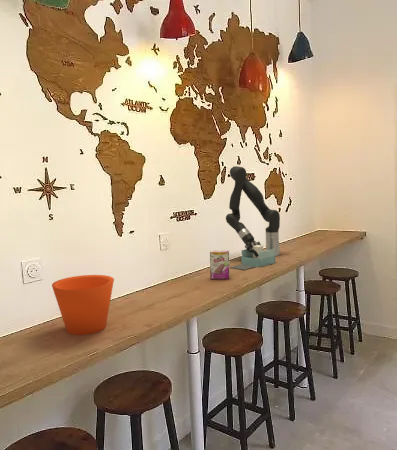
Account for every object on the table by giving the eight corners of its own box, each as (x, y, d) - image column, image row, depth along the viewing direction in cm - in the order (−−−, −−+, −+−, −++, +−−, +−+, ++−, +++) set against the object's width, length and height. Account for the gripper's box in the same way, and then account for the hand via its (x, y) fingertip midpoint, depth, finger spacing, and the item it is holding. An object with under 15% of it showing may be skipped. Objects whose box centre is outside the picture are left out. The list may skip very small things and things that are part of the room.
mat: (241, 265, 306) (241, 264, 306) (255, 267, 297) (255, 266, 297) (230, 268, 298) (230, 267, 298) (244, 270, 290) (244, 269, 290)
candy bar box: (210, 279, 270) (209, 251, 268) (211, 277, 275) (210, 250, 273) (229, 279, 269) (228, 251, 267) (229, 277, 273) (229, 250, 272)
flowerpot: (68, 343, 176) (64, 293, 174) (47, 327, 196) (43, 281, 194) (127, 328, 190) (124, 281, 188) (101, 314, 211) (99, 272, 208)
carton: (257, 260, 320) (257, 246, 319) (275, 262, 310) (275, 248, 308) (241, 264, 309) (241, 250, 307) (259, 267, 298) (259, 252, 297)
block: (257, 262, 313) (257, 245, 311) (263, 263, 309) (263, 245, 308) (253, 263, 309) (252, 246, 308) (258, 264, 306) (258, 246, 304)
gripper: (242, 234, 307) (256, 253, 300) (255, 231, 317) (270, 250, 310) (236, 241, 311) (250, 260, 304) (249, 238, 321) (264, 257, 314)
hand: (260, 255), depth 307 cm, fingers closed on block, 5 cm apart
